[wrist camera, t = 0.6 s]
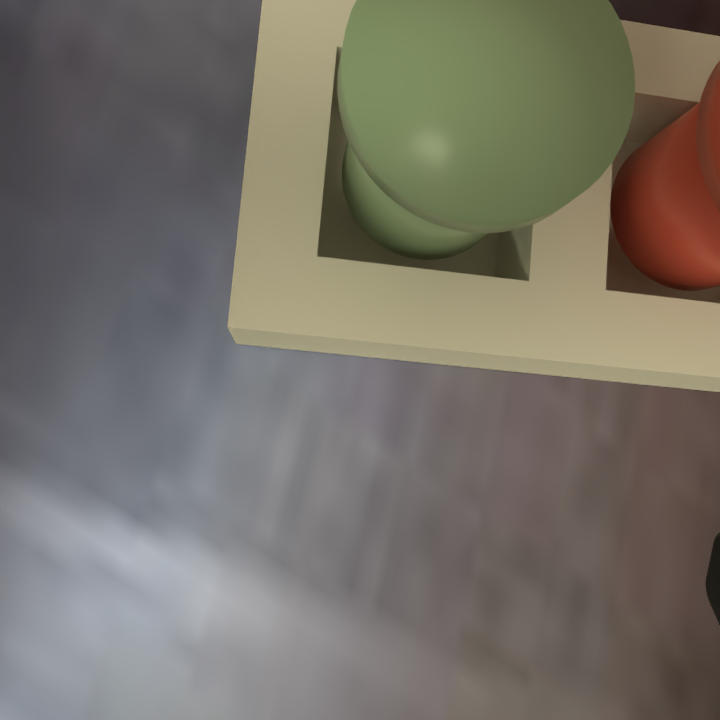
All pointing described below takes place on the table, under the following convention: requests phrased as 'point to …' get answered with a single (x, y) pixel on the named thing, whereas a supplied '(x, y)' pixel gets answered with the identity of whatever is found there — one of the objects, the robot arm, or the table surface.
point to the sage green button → (477, 115)
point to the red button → (674, 199)
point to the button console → (465, 270)
